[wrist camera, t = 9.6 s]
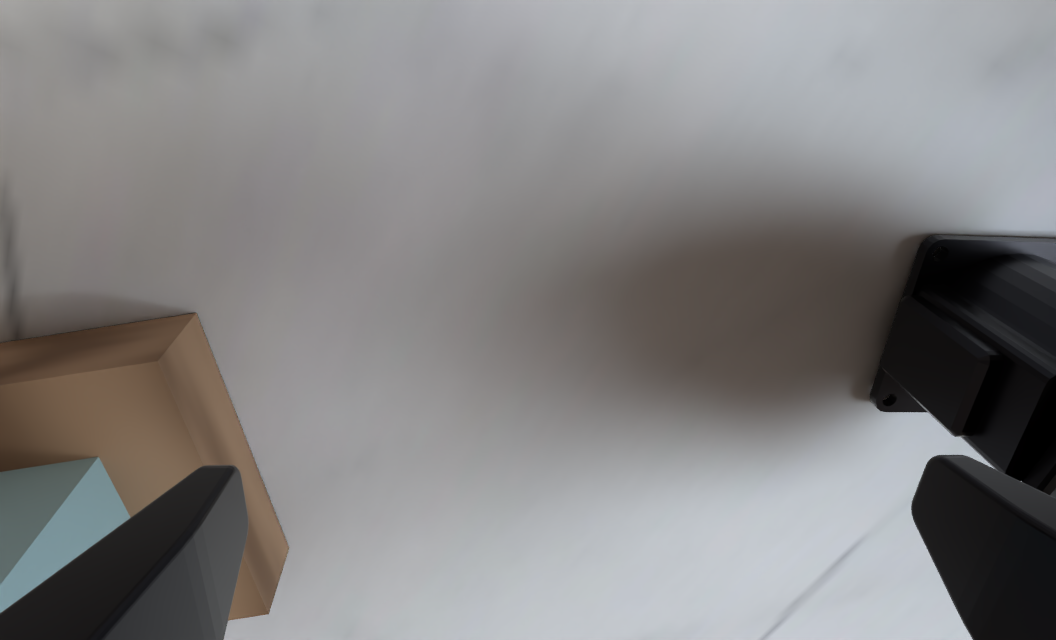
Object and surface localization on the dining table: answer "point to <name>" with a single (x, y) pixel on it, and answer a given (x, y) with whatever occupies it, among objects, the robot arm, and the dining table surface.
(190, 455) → the walnut slab
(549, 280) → the dining table surface
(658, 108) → the dining table surface
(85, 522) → the slate-blue block
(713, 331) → the dining table surface
